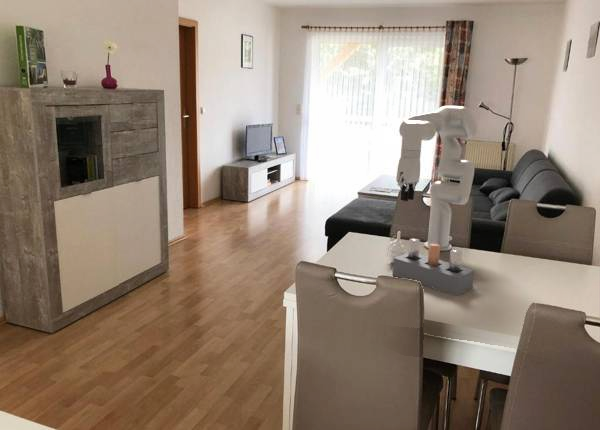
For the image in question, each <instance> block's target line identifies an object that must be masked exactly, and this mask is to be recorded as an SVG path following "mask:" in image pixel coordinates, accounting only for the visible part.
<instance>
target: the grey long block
mask: <svg viewBox="0 0 600 430" xmlns="http://www.w3.org/2000/svg"><path fill="white" fill-rule="evenodd" d="M408 253H409V252H407V253H404V255H401V256H398V257H395V258H394V263H393V266H392V267H393V268H392V275H394V276H396V277H398V278H402V279H404V278H407V279H412V280H417V281H420V282H421V283H422V284H424V285H423V286H425V285H427V286H426V287H428V286H430V287H429V288H431V287H433V288H432V289H434V288H436V289H435V290H437V289H439V290H438V291H440V290H441V292H443V291H444V292H443V293H446V292H447V294H449V293H450V295H452V294H453V296H455V295H456V296H455V297H457V296H459V295H461V294H462V293H465V292H467V291H468V290H471V289H472V288H473V286H474V280H475V279H474V278H475V271H476V270H475V269H471V268H468V267H465V266H462V265H460V272H459V273H454V272H450V271H449V262H447V261H444V260H441V259H439V264H438V266H437V267H434V266H430V265H428V255H424V254H423V255H422V254H420V253H419V257H418V260H416V261H414V260H410V259H408ZM407 279H406V280H407ZM422 284H421V285H422Z"/></svg>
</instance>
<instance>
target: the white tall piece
mask: <svg viewBox="0 0 600 430" xmlns="http://www.w3.org/2000/svg"><path fill="white" fill-rule="evenodd" d="M401 234H402V233H401V231H400V230H398V232H397V234H396V235H397V236H396V235H394V236H392V238H391V239H393V238H395V237H396V239H395V240H391V242H389V243H388V247H387V254H386V256H387V257H388V255H389V256H390V257H389V258H390V261H392V263H393V264H394V258H395V257H398V256H401V255H404V254H406V250H405V245H403V242H402V241H401ZM393 243H394V244H393ZM390 244H391V247H390ZM389 248H390V249H389ZM389 251H390V252H389Z"/></svg>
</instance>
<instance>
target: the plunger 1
mask: <svg viewBox="0 0 600 430" xmlns="http://www.w3.org/2000/svg"><path fill="white" fill-rule="evenodd" d="M408 242H409V243H408V252H407V253H408V259H410V260H414V261H416V260H418V257H419V254H420V244H421V240H420V239H418V238H410V239H409V241H408Z"/></svg>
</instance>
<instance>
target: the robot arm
mask: <svg viewBox="0 0 600 430" xmlns="http://www.w3.org/2000/svg"><path fill="white" fill-rule="evenodd" d="M398 131H399V135H400V136H401V147H400V148H401V149H400V150H401V151H400V158H399V160H398V164H397V171H396V182H397V186H398V187H399V188H400V200H401V201H404V202H408V201H409V200H410V201H413V200H414V198H415V190H416V186H417V185H418V183H419V182H420V177H421V153H422V152H421V151H422V143H423V141H431V140H433V138H434V137H435V136H436V133H437V132H438V134H439V136H440V137H439V138H440V139H441V144H442V150H441V155H440V159H439V164H438V171H437V174H438V177H440V178H443V179H446V180H454V181H459V182H453V181H445V180H436V181H435V182H433V183H431V186H430V190H429V194H430V195H429V196H430V215H429V223H428V224H429V225H428V236H427V241H426V242H424V243H423V246H424V247H425V248H427V249H428V250H429V245H430V244H438V245H440V252H441V251H442V252H444V251H445V252H446V251H451V250H452V247H453V246H452V244H451V243H450V241H452V240H453V237H452V235H451V236H450V230H451V222H452V209H451V206H450V205H449V204H454V205H465V204H467V203H468V201H469V199H470V194H471V191H472V185H473V181H474V176H475V164H474V163H473V161H471V160H467V159H461V156H462V151H463V150H462V146H461V144H460V142H459V140H458V139H462V140H463V139H464V140H465V139H466V140H470V139H473V138H474V137H476V135H477V132H478V125H477V122H476V119H475V118H474V116H473V114H472V111H471V110H470V109H469V108H468V107H467V106H462V105H443V106H440V107H439V108H437V109H435V110H434V111H432V112H426V113H422V114H417V115H412V116H410V117H408V118H405V119H404V120H403V121H402V122H401V123H400V126H399V130H398Z"/></svg>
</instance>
